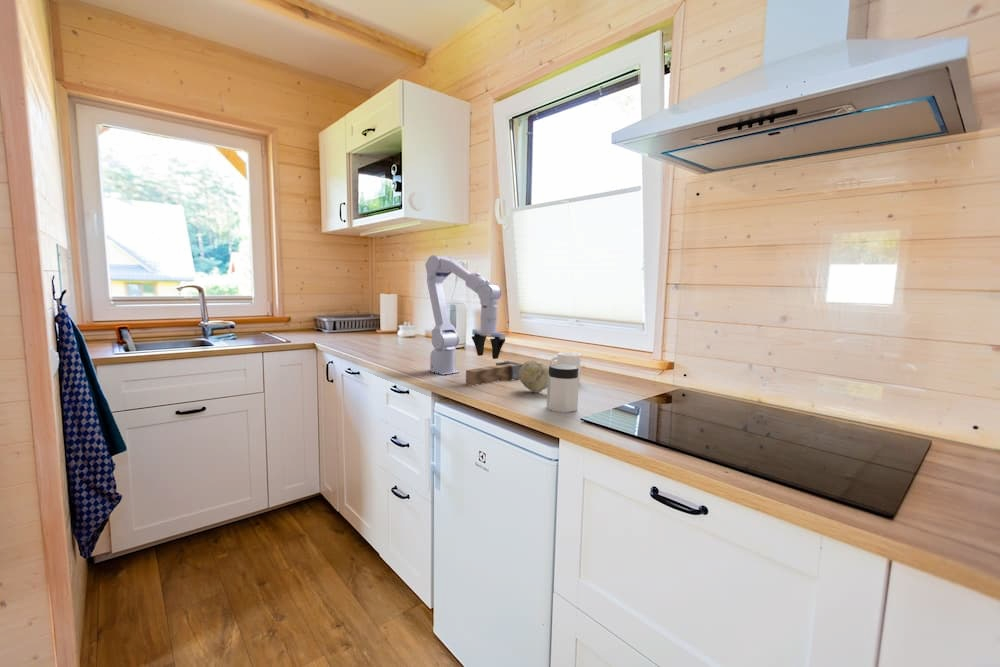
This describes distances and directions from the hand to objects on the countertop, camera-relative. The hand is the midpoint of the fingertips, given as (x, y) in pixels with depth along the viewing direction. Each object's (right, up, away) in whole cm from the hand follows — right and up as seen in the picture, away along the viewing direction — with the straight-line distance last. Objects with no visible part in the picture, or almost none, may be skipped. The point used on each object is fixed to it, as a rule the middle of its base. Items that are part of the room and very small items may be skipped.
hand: (487, 357), depth 156 cm
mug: (+27, -9, +4) cm, 29 cm away
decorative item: (+16, -11, -14) cm, 24 cm away
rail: (+2, -9, +1) cm, 9 cm away
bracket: (+7, -8, +7) cm, 13 cm away
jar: (+22, -13, -32) cm, 41 cm away
